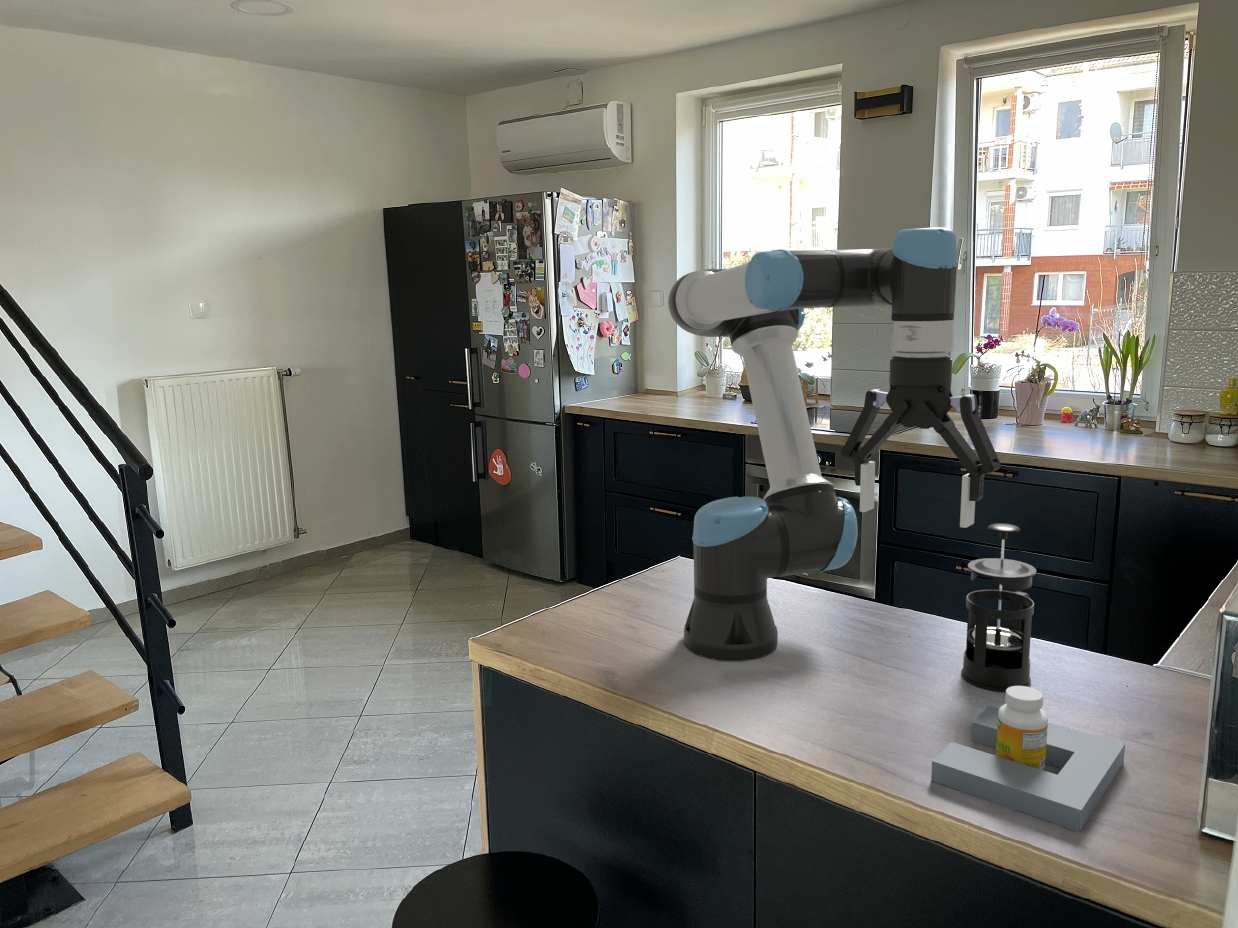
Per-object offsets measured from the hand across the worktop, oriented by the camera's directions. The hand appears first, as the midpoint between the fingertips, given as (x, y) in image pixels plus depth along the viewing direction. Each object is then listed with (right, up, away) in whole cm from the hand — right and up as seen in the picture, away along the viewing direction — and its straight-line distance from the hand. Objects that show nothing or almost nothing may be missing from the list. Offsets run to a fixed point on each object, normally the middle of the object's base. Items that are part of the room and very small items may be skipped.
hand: (915, 517), depth 119 cm
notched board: (+10, -29, -12) cm, 33 cm away
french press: (+17, -24, +14) cm, 32 cm away
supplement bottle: (+9, -29, -11) cm, 33 cm away
